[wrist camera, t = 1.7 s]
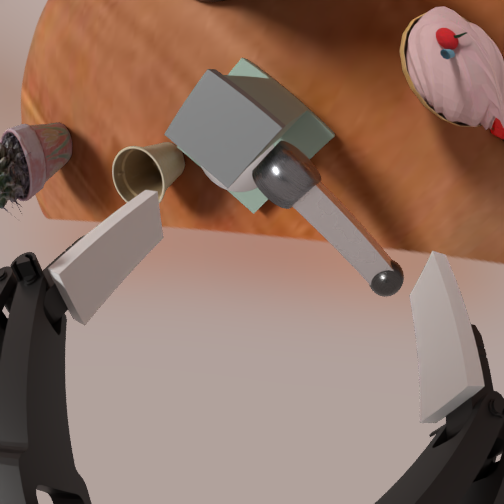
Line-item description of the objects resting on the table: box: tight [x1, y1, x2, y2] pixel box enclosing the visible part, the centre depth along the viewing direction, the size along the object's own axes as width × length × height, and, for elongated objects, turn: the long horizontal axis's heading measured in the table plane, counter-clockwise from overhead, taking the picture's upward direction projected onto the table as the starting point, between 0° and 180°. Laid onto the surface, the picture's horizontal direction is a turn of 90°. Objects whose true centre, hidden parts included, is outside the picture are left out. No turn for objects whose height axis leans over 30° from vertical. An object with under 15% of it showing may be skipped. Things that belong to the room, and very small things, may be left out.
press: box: [164, 58, 335, 214], centre depth 27 cm, size 15×17×19 cm
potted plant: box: [0, 123, 72, 211], centre depth 36 cm, size 18×20×25 cm
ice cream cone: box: [399, 6, 504, 130], centre depth 15 cm, size 11×11×20 cm
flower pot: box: [112, 142, 185, 203], centre depth 37 cm, size 9×9×9 cm
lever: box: [252, 141, 404, 296], centre depth 20 cm, size 16×3×4 cm, turn 50°
